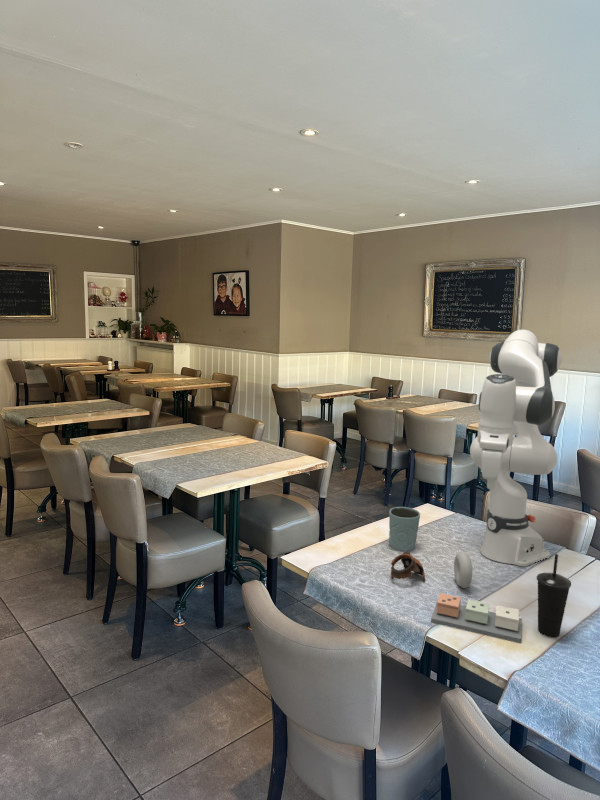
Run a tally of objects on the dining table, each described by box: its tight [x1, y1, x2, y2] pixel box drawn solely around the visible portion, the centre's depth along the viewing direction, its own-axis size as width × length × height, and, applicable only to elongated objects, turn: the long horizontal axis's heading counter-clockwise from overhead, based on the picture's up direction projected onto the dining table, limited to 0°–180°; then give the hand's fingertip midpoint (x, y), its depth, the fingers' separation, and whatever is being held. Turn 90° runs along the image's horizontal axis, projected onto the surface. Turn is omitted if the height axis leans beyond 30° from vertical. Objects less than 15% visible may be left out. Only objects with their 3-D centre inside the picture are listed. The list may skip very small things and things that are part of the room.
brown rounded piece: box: [390, 551, 426, 583], centre depth 162 cm, size 12×10×8 cm
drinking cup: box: [536, 553, 572, 639], centre depth 135 cm, size 8×8×20 cm
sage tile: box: [465, 598, 490, 624], centre depth 139 cm, size 5×5×3 cm
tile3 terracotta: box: [436, 592, 462, 617], centre depth 142 cm, size 5×5×3 cm
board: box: [430, 599, 523, 644], centre depth 139 cm, size 21×10×2 cm, turn 68°
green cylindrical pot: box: [388, 506, 421, 553], centre depth 184 cm, size 10×10×12 cm
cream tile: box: [495, 604, 520, 631], centre depth 136 cm, size 5×5×3 cm
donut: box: [453, 550, 473, 589], centre depth 158 cm, size 10×4×10 cm, turn 178°
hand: (490, 487), depth 148 cm, fingers closed
